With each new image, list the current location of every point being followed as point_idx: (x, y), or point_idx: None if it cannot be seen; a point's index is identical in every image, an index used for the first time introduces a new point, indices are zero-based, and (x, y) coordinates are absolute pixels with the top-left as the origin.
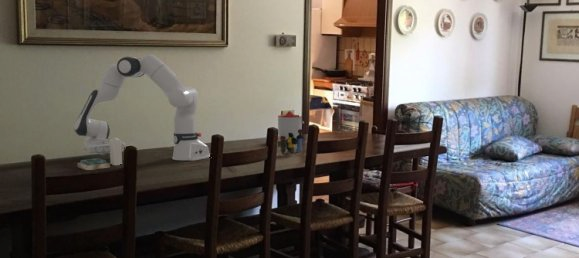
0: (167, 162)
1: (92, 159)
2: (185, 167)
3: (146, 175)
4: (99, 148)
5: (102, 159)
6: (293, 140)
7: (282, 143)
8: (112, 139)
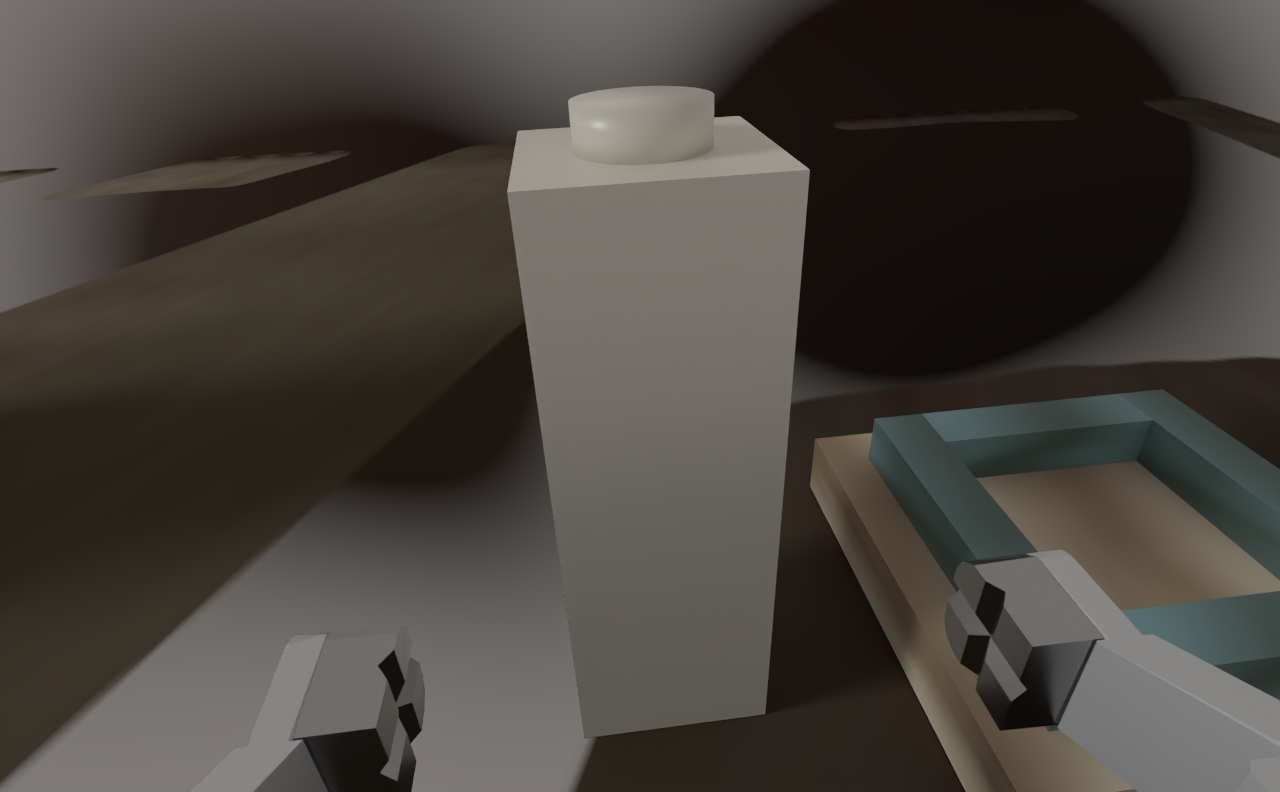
0: (40, 465)
1: (1195, 604)
2: (232, 281)
3: None
4: (1175, 659)
5: (946, 505)
6: None
7: None
8: (718, 157)
